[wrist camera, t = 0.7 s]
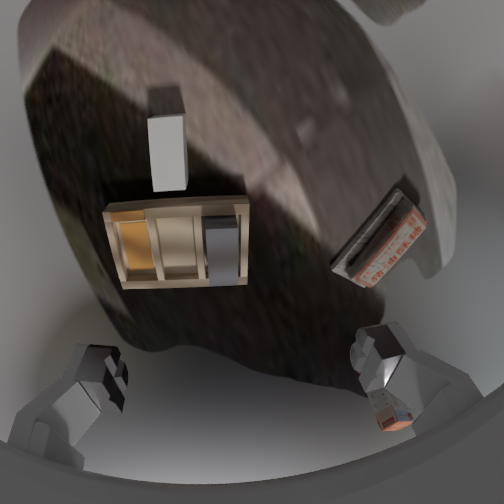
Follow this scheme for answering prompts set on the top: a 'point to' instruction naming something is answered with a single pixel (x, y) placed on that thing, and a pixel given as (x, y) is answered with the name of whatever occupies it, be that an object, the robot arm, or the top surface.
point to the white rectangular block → (168, 152)
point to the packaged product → (381, 241)
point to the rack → (180, 241)
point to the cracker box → (389, 410)
